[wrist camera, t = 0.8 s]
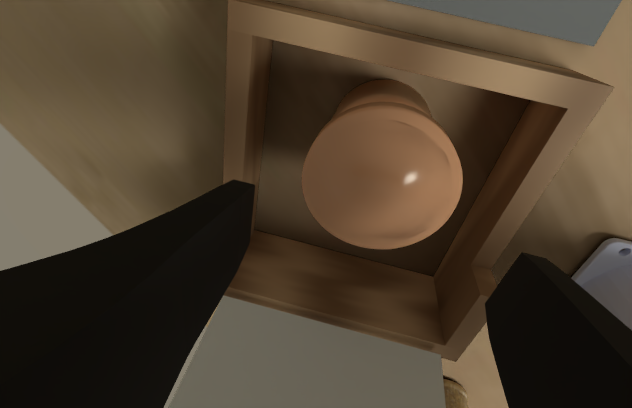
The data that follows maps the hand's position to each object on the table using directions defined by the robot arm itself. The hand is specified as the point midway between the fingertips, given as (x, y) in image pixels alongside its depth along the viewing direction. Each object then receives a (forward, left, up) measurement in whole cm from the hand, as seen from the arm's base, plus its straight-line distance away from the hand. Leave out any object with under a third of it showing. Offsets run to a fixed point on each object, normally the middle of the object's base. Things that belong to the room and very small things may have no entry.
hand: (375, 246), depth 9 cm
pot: (0, 0, -9) cm, 9 cm away
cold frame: (0, +3, -9) cm, 10 cm away
